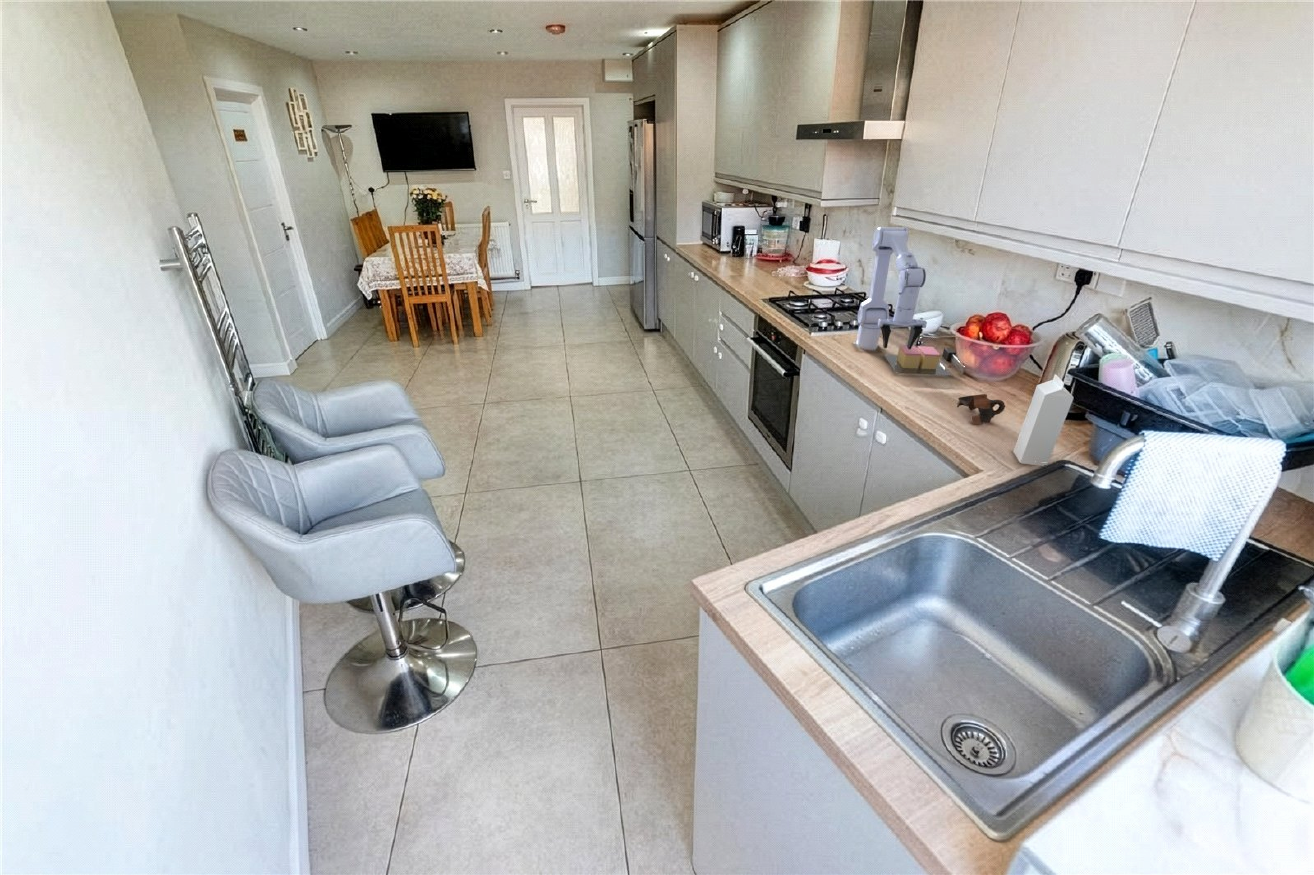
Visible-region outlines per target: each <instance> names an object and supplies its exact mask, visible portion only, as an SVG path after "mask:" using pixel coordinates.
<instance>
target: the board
mask: <svg viewBox="0 0 1314 875" xmlns="http://www.w3.org/2000/svg"><path fill="white" fill-rule="evenodd" d="M883 356H884V358H885V359H886V361H887V362H888V363H889V366H891V368H892V369H893V371H894V372H895V373H896V374H902V375H903V374H904V375H905V374H906V375H926V376H927V375H929V376H952V373H951V372H950V371H949V370H948V369H947V368H946V367H945V366H944V365H943V364H942V363H941V362H940V361H939V362H938V365H937V369H921V367H920V366H918V369H916V368H902V366H901V365H900V363H899V362H898V361H897V356H898V354H883Z"/></svg>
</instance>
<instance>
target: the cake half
mask: <svg viewBox="0 0 1314 875" xmlns="http://www.w3.org/2000/svg"><path fill="white" fill-rule="evenodd" d="M897 355H898V356H897V361H898V362H899V363H900V365H901V366H902V368H916V369H918V366H919V362H920V357H921V353H920V352H919V351H918V350H917V347H916V346H915V345H913V346H912V348H911V349H908V348H907V345H899V346H898V352H897Z"/></svg>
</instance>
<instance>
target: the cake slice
mask: <svg viewBox="0 0 1314 875" xmlns="http://www.w3.org/2000/svg"><path fill="white" fill-rule="evenodd" d="M916 349H917V350H918V351H919V352H920V353H921V357H920V362H919V366H920V367H921V369H937V365H938V362H940V358H941V354H940V353H939V352H938V350H937V349H935V347H933V346H926V345H925V346H923V345H918V346H917V347H916Z"/></svg>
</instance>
